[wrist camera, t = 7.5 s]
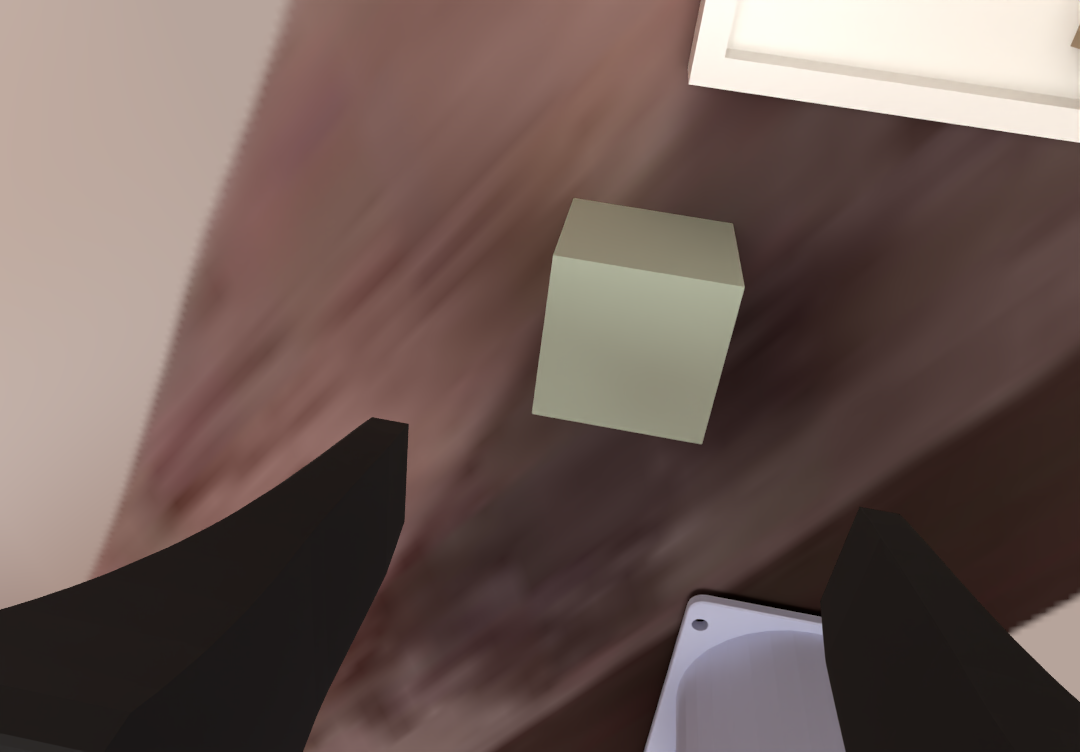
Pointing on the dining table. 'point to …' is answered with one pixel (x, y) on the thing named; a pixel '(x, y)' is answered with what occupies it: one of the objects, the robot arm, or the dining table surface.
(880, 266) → the dining table surface
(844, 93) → the tray
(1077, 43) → the birch block
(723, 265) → the sage block
